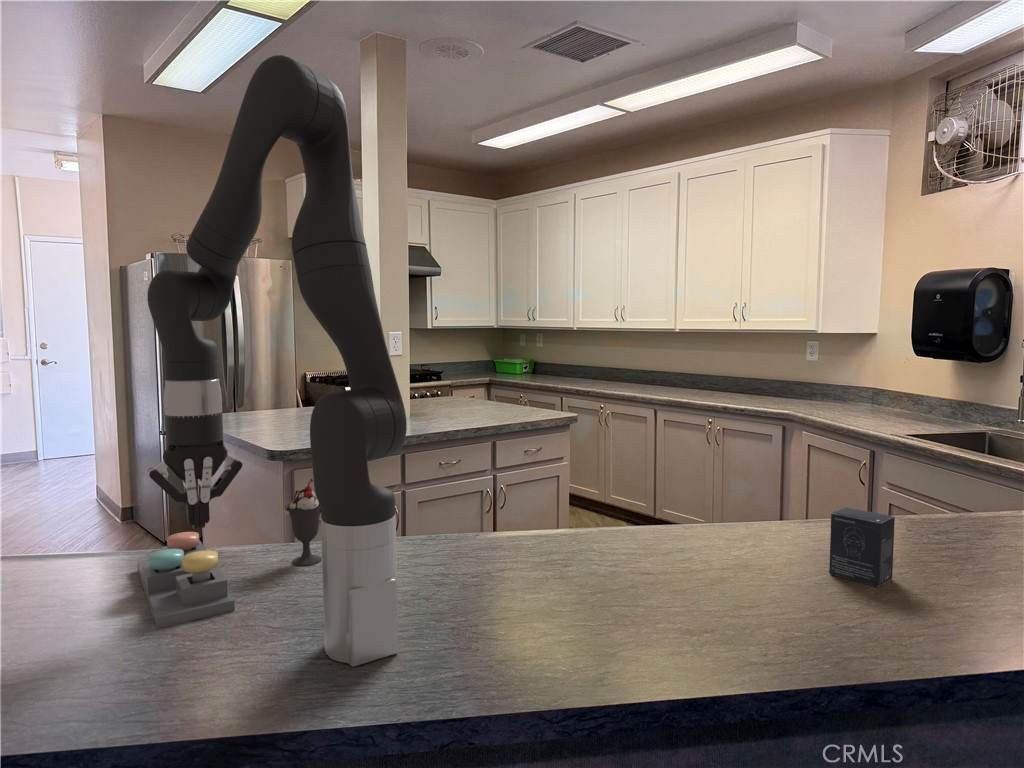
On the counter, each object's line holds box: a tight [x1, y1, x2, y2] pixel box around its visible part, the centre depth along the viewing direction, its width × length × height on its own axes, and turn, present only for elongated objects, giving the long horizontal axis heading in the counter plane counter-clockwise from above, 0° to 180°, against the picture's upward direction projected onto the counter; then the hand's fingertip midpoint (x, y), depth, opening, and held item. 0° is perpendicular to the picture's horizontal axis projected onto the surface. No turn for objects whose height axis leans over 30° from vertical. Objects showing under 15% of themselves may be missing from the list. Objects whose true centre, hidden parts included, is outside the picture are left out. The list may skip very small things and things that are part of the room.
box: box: [828, 507, 896, 588], centre depth 107 cm, size 8×6×11 cm
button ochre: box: [182, 549, 219, 584], centre depth 97 cm, size 5×5×4 cm
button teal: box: [148, 549, 184, 572], centre depth 101 cm, size 5×5×4 cm
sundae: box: [284, 478, 322, 567], centre depth 114 cm, size 7×7×15 cm
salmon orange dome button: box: [166, 531, 200, 552], centre depth 110 cm, size 5×5×4 cm
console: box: [136, 540, 236, 629], centre depth 103 cm, size 26×10×4 cm, turn 35°
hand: (198, 526), depth 96 cm, fingers closed
